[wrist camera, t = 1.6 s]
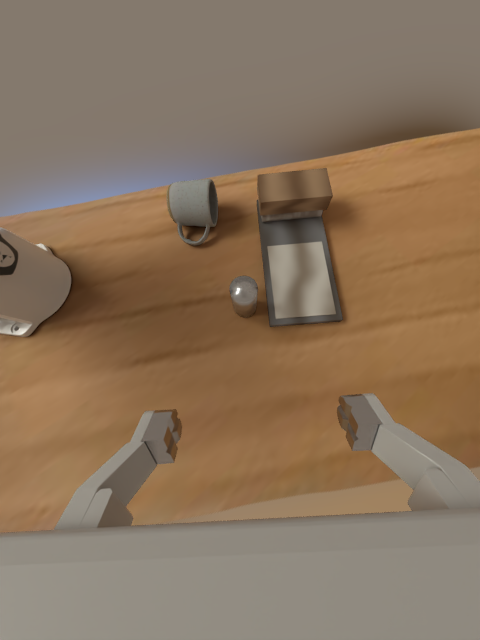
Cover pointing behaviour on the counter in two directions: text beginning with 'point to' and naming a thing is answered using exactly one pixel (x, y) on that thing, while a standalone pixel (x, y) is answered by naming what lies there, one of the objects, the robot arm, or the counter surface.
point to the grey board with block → (296, 248)
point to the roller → (244, 296)
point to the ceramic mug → (193, 206)
